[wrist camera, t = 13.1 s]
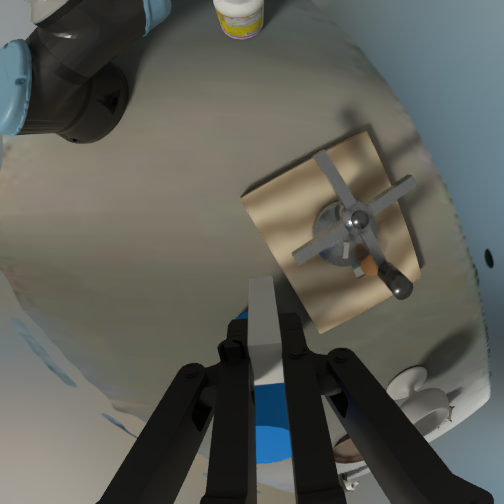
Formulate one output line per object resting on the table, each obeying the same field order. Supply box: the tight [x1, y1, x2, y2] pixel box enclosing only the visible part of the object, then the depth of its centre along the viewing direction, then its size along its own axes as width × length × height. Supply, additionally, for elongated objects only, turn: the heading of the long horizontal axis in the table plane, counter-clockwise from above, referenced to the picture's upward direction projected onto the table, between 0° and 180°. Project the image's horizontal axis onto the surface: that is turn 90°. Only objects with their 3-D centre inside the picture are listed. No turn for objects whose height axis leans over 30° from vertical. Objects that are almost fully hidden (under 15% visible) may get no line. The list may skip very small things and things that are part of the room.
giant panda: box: [338, 473, 359, 493], centre depth 72 cm, size 15×6×10 cm, turn 137°
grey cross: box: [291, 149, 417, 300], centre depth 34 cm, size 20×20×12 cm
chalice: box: [386, 367, 449, 436], centre depth 50 cm, size 14×14×15 cm
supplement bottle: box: [213, 0, 264, 39], centre depth 26 cm, size 7×7×13 cm
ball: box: [360, 254, 378, 276], centre depth 41 cm, size 4×4×4 cm
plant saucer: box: [333, 435, 364, 464], centre depth 65 cm, size 21×21×3 cm
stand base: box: [240, 131, 422, 334], centre depth 43 cm, size 28×22×2 cm
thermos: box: [236, 311, 292, 464], centre depth 39 cm, size 11×11×25 cm
